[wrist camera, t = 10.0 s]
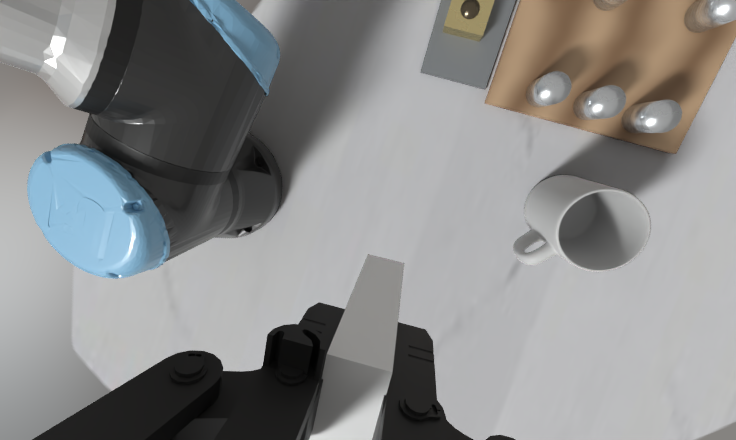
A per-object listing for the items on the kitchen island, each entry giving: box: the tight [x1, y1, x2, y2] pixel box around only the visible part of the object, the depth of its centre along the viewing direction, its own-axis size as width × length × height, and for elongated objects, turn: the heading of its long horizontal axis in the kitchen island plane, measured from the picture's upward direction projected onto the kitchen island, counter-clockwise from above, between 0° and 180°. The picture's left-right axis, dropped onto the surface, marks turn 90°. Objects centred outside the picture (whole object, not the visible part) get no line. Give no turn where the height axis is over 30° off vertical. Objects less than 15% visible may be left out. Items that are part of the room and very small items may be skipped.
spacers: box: [526, 0, 736, 133], centre depth 36 cm, size 18×14×4 cm
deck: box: [485, 0, 736, 154], centre depth 38 cm, size 22×16×1 cm
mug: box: [513, 175, 651, 272], centre depth 39 cm, size 12×8×11 cm
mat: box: [421, 0, 516, 89], centre depth 40 cm, size 8×13×1 cm, turn 165°
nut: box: [443, 0, 495, 42], centre depth 38 cm, size 4×4×3 cm
